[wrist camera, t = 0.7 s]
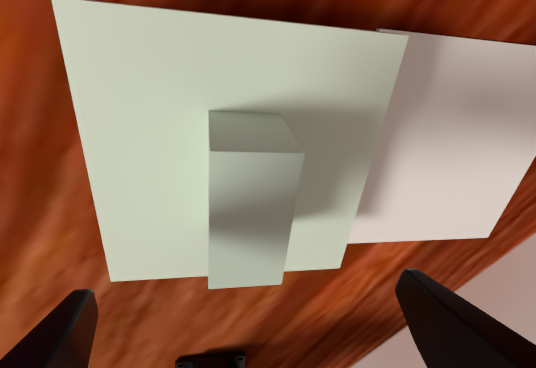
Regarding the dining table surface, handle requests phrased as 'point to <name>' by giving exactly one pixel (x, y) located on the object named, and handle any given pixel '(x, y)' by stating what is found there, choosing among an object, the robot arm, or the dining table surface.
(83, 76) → the lid
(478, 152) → the mat
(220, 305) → the dining table surface
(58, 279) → the dining table surface
